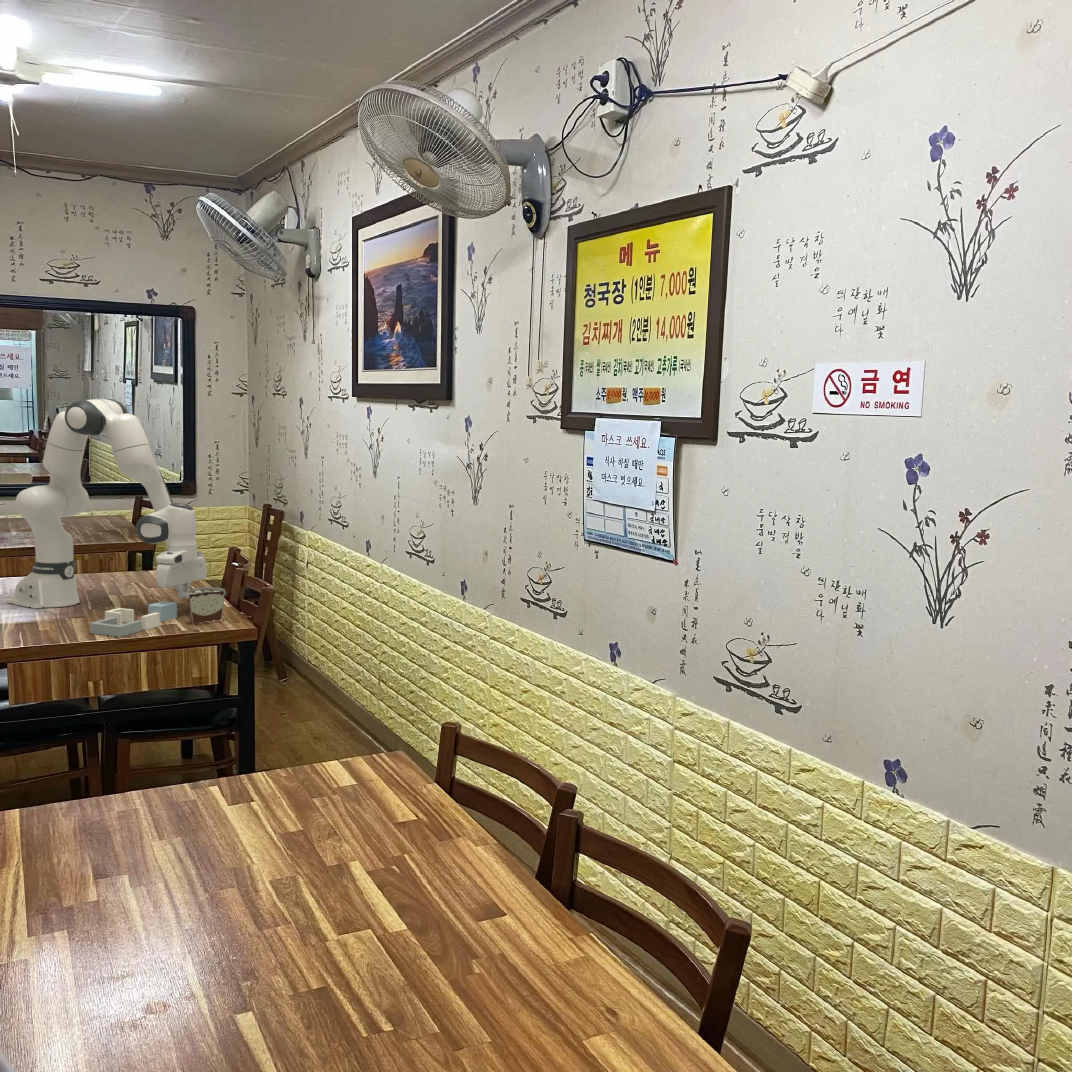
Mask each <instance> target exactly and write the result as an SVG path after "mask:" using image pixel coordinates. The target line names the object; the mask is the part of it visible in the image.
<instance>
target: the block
mask: <svg viewBox="0 0 1072 1072" xmlns="http://www.w3.org/2000/svg"><path fill="white" fill-rule="evenodd" d="M155 612H156V613H160V623H163V622H162V621H164V622H167V621H170V620H169V619H171V620H174V619H173V618H175V619H177V618H178V602H175V601H168V600H162V601H158V602H154V603H150V604H148V606H147V615H148V614H152V613H155ZM166 620H167V621H166Z"/></svg>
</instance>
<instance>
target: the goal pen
mask: <svg viewBox="0 0 1072 1072" xmlns="http://www.w3.org/2000/svg"><path fill="white" fill-rule="evenodd" d="M142 631H143V630H142V620H134V621H133V622H130V623H126V622H125V623H124V624H123V623H122V625H117V618H115V617H111V618H108V619H105V618H104V619H100V620H97V621H92V622H89V633H90V634H92V635H99V634H101V636H107V635H110V636H109V637H114V636H117V637H116V638H122V637H126V636H128V635H132V634H136V633H138V632H139V633H140V632H142ZM125 635H126V636H125ZM121 636H122V637H121Z"/></svg>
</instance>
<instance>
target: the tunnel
mask: <svg viewBox="0 0 1072 1072" xmlns="http://www.w3.org/2000/svg"><path fill="white" fill-rule="evenodd" d="M111 617H115V618H117V625H122V624H123V623H125V624H126V623H130V622H133V621H135V609H129V608H125V607H124V608H123V607H118V608H114V609H109V610H105V611H104V619H108V618H111ZM141 621H142V631H143V630H144V631H147V630H150V629H154V628H157V627H160V626H161V624H160V623H161V622H160V613H156V612H155V613H152V614H148V613H147V614H145V615H142V616H141Z"/></svg>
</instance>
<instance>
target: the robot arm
mask: <svg viewBox="0 0 1072 1072" xmlns="http://www.w3.org/2000/svg"><path fill="white" fill-rule="evenodd" d="M99 435H102V436H104V437H105V438H106V439H108V441H109V444H110V446H111V447H110V448H111V451H112V454H113V457H114V461H115V463H116V466H117V468H118V469H119V471H120V472H121V473H122V474H123V475H125V476H127V477H129V478H131V479H133V480H135V481H137V482H138V483H140V484H141V485H142V486H143V487H144V489H145V490H146V491H145V492H146V493H147V495H148V499H149V500H150V503H151V506H152V508H153V511H154V512H151V513H147V514H145V515H143V516H141V517H139V519H138V520H137V522H136V525H135V531H136V535H137V536H138V538H139V540H140V541H142V542H143V543H145V544H149V545H150V544H151V545H156V544H160V543H166V546H167V548H166V549H165V550H164V551H162V552H161V553H160V554H158V555H156V558H155V562H156V563H157V566H156V570H155V571H156V574H155V576H156V577H155V578H156V584H157V586H158V588H161V589H162V588H163V589H168V588H173V587H174V590H176V592H177V598H178V599H183V598H186V596H187V593H188V590H191V586H192V583H194V582H197V581H203V580H206V579H207V576H208V570H207V562H206V559H205V554H204V553H203V552H202V551H199V550H198V548H197V545H198V544H197V540H196V535H197V519H196V512H195V510H194V508H193V507H192V506H190V505H189V504H187V503H181V502H180V503H178V502H174V501H173V499H172V496H171V494H170V492H169V489H168V486H167V484H166V481H165V479H164V476H163V474H162V472H161V470H160V468H159V466H158V465H157V463H156V460H155V457H154V455H153V451H152V449H151V446H150V442H149V440H148V436H147V435H146V432H145V430H144V428H143V426H142V423H141V421H140V419H139V418H138V417H137V416H136V415H134V414H133V413H129V412H128V409H127V407H126V406H125V405H124V404H123V403H122V402H120V401H118V400H114V399H111V398H108V399H107V398H93V399H81V400H77V401H74V402H72V403H70V404H69V405H68V406H67V407H66V409H65V410H63V411H60V412H59V413H57V414H56V416H55V418H54V420H53V423H52V425H51V427H50V430H49V434H48V437H47V440H46V445H45V449H44V454H43V460H42V466H43V468H44V469H45V470H46V471H47V472H48V473H49V483H48V484H43V485H35V486H31V487H28V488H26V489H22V490H21V491H19V493H18V494H17V495H16V498H15V502H14V503H15V509H16V511H17V513H18V515H19V516H21V518H23V519H24V520H25V521H26V522H27V523H28V525H29V527H30V530H31V531H32V534H33V538H34V551H35V561H34V562H30V563H28V565H29V566H28V567H29V568H30V567H31V572H30V573H28V575H26V576H24V578H23V579H22V580H20V581H18V582H17V584H16V585H15V589H14V596H13V597H9V598H7V600H6V603H7V604H11V603H12V604H11V605H17V606H21V607H25V608H29V607H31V608H30V609H43V607H44V608H59V607H68V606H74V605H78V604H80V602H81V601H80V595H79V594H78V588H77V581H76V580H77V579H76V575H75V572H76V560H75V559H74V538H73V536H72V534H71V533H70V532H69V531H66V529H65V528H64V525H63V523H62V518H69V517H73V516H77V515H78V514H81V513H83V512H85V511H86V510H87V509H88V506H89V503H90V497H89V494H88V492H87V490H86V488H85V487H84V486H83V484H82V483H83V482H82V479H81V470H82V464H83V459H84V454H85V450H86V446H87V441H88V438H89V436H99ZM77 603H78V604H77Z"/></svg>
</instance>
